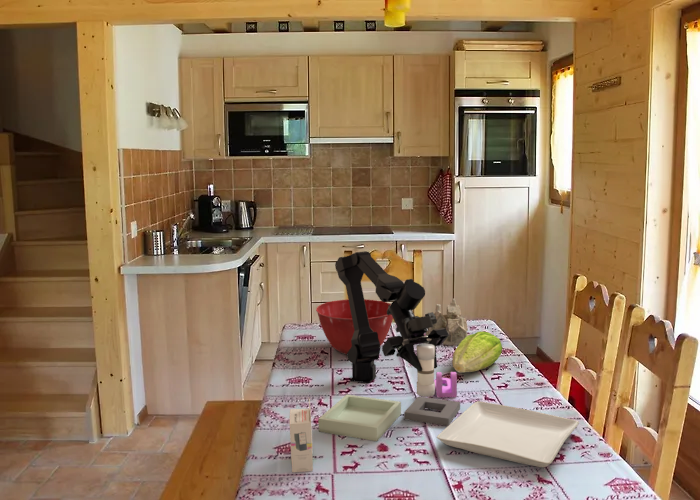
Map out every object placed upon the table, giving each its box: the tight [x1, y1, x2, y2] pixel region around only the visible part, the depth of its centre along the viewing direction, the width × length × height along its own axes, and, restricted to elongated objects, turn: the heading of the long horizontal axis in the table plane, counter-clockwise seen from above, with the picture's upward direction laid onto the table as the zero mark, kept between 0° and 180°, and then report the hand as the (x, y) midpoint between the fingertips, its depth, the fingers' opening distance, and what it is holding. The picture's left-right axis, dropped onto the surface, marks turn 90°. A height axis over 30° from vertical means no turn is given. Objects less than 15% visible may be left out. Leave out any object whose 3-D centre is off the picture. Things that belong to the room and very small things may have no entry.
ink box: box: [289, 398, 314, 473], centre depth 152 cm, size 9×5×15 cm, turn 5°
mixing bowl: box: [315, 298, 394, 355], centre depth 238 cm, size 28×28×15 cm
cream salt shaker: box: [416, 344, 436, 398], centre depth 177 cm, size 5×5×13 cm
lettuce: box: [452, 330, 503, 373], centre depth 215 cm, size 12×24×13 cm
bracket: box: [434, 371, 458, 398], centre depth 198 cm, size 13×6×7 cm, turn 178°
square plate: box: [436, 401, 580, 468], centre depth 163 cm, size 27×27×4 cm
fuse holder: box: [403, 396, 461, 427], centre depth 180 cm, size 12×12×2 cm
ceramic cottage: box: [424, 298, 469, 347], centre depth 247 cm, size 16×16×15 cm
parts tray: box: [318, 394, 402, 442], centre depth 175 cm, size 16×18×4 cm
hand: (428, 369), depth 175 cm, fingers closed on cream salt shaker, 4 cm apart
